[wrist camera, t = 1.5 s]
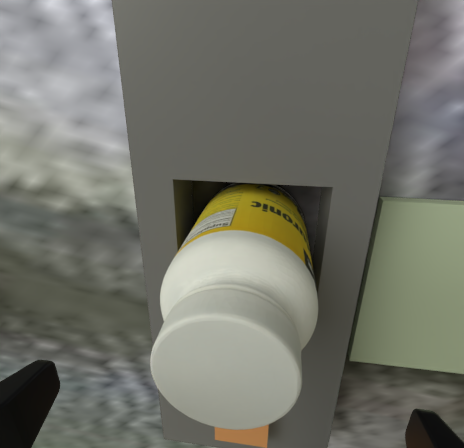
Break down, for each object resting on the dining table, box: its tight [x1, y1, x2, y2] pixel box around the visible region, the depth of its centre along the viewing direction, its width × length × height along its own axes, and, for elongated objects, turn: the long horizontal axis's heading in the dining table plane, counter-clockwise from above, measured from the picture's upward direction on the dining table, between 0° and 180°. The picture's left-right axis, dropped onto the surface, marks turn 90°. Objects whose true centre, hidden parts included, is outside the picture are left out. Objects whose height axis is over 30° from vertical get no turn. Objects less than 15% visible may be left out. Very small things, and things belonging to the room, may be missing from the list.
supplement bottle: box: [150, 182, 318, 430], centre depth 13 cm, size 5×5×10 cm
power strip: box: [112, 0, 418, 448], centre depth 15 cm, size 28×10×4 cm, turn 179°
